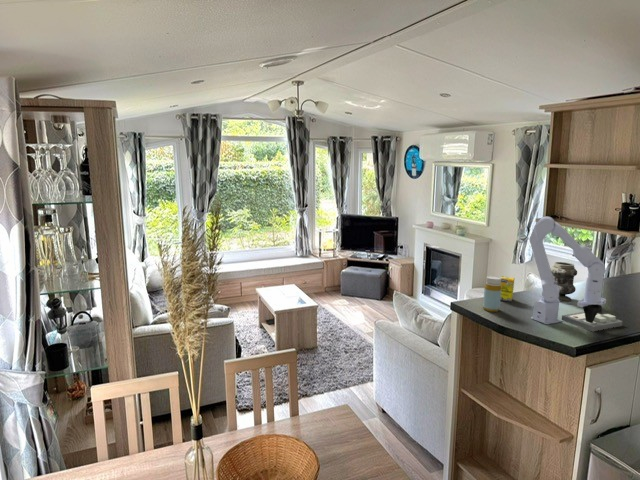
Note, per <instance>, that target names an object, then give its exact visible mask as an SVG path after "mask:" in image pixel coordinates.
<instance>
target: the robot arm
mask: <svg viewBox="0 0 640 480" xmlns="http://www.w3.org/2000/svg"><path fill="white" fill-rule="evenodd" d="M549 234H550V235H551V236H556V237H559V238H560V239H561V240H562V241H563V242H564V244H566V245H567V246H568V247H569V248H570V249H571V250H572V256H573V257H575V259H576V260H577V261H578V262H579V263H580V264H581V265H582V266H584V268H587V271H588V273H587V277H586V281H585V289H584V296H583V299H580V301H577V304H576V306H577V307H579V308H582V309H583V312H584V313H585V318H586V321H587V322H590V323H592V322H593V321H594V319H595V316H596V314H597V313H599V312H600V311H601V309H602V305H605V304H606V303H607V299H606V298H604V297H602V293H603V285H604V278H605V277H604V275H605V273H606V271H607V270H606V266H605V264H604V262H603V260H601V258H600V257H599V256H596V255H595V254H594V253H593V252H592V249H591V248H590V247H589V246H588V247H587V246H586V245H580V244H579V242H578V241H577V240H576V239H575V238H574V237H573V236H572V234H570V233H569V232H568V230H566V229H565V228H564V227H563V226H562V225H561V224H560V223H559V222H557V221H556V220H554V218H553V217H551V216H548V215H547V216H546V215H545V216H542V217H541V218H540V219H539V220H538V221H537V222H536V223H535V225H534V227H533V229H532V232H531V234H530V237H529V244H530V247H531V250H532V253H533V257H534V261H535V263H536V264H535V265H536V267H537V271H538V275H539V278H540V280H541V287H542V291H541V296H540V299H539V300H538V301H536V302H535V303H534V305H533V314H532V316H531V317H530V318H531V320H535V321H537V322H540V323H542V324H545V325H550V324H556V323H562V322H563V320H562V319H559V318H558V316H559V310H560V309H559V307H560V302H561V301H560V300H559V299H558V297H559V291H560V288H559V286H558V285H557V284H556V283H555V280H554V278H553V275H552V272H551V269H550V268H551V266H550V262H549V259H548V255H547V252H546V248H545V245H544V242H543V240H544V239H545V238H546V236H547V235H549Z"/></svg>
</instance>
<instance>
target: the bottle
mask: <svg viewBox="0 0 640 480" xmlns="http://www.w3.org/2000/svg"><path fill="white" fill-rule="evenodd" d="M500 298H501V277H500V276H498V275H495V276H494V275H487V276H486V282H485V285H484V292H483V301H482V308H483V310H484V311H486V312H491V313H496V312H499V311H500V307H501V300H500Z"/></svg>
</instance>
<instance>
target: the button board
mask: <svg viewBox="0 0 640 480" xmlns="http://www.w3.org/2000/svg"><path fill="white" fill-rule="evenodd" d="M602 315H603V314H601V313H599V312H598V313H597V314H596V316H601V317H602ZM561 320H562V322H566V323H569V324H571V325H574V326H577V327H580V328H582V329H585V330H587V331H591V332H597V331H598V330H599V331H603V329H604V330H607V329H608V328H609V329H613V327H614V328H617V327H622V326H623V320H620V319H615V321H608V320H606V322H604V323H599V322H596V321H593V322H596V324H593V325H589V324H586V323H584V322H582V321H584V320H586V318H585V313H584V311H581V312H575V313H574V312H573V313H568V314H564V315H561ZM609 329H608V330H609Z"/></svg>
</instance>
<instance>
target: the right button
mask: <svg viewBox="0 0 640 480" xmlns="http://www.w3.org/2000/svg"><path fill="white" fill-rule="evenodd" d="M602 317H604V318H606V320H608V321H615V319H616V318H617V317H616V316H615V315H612V314H610V313H604V314H602Z"/></svg>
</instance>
